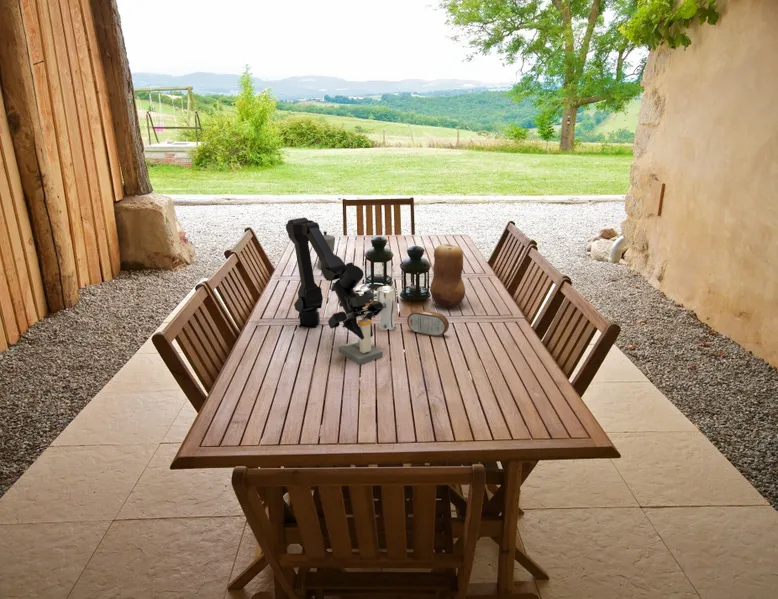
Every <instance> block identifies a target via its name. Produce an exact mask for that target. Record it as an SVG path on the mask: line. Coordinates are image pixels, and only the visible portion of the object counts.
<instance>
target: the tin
mask: <svg viewBox="0 0 778 599" xmlns="http://www.w3.org/2000/svg"><path fill="white" fill-rule="evenodd" d="M406 322H407V326H408V328H409V329H410V330H411V331H412V332H414V333H415V332H417V333H416V334H419V333H422V334H421V335H425V334H427V336H430V337H431V336H432V337H441V336H443V335H444V334H446V333H447V332H448V330H449V326H450V323H449V320H448V318H447V317H446V316H445V315H444V314H442V313H440V312H435V311H429V310H425V309H414V310H412V311H411V313H410V314H409V315H408V316H407V321H406Z"/></svg>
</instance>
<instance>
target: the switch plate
mask: <svg viewBox="0 0 778 599" xmlns="http://www.w3.org/2000/svg"><path fill="white" fill-rule="evenodd" d="M338 353H340V354H341V355H343V356H345V357H346V358H348V359H350V360H351V361H352V362H354V363H356V364H358V365H363V364H366V362H367V363H369V361H370V362H372V360H373V361H375V360H374V359H376V360H378V359H381V358H383V351H382V350H381V349H379V348H377V347H375V346H373V345H371V351H369V352H366V353H362V352H360V339H359V340H354V341H351V342H348V343H345V344H342V345H340V346H338ZM380 357H381V358H380ZM377 358H378V359H377Z"/></svg>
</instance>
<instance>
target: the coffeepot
mask: <svg viewBox="0 0 778 599" xmlns="http://www.w3.org/2000/svg"><path fill="white" fill-rule="evenodd" d="M327 232H328V231H323V234H322V235H323V236H324V238H325V240H326V242H327V243H328V245H329V247H330V248H331V250H332V252H333V253H334V251H335V245H336V237H335V236H334V235H329V234H328V233H327ZM317 269H318V270H320V271H321V261H320V259H319V257H318V260H317Z"/></svg>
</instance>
